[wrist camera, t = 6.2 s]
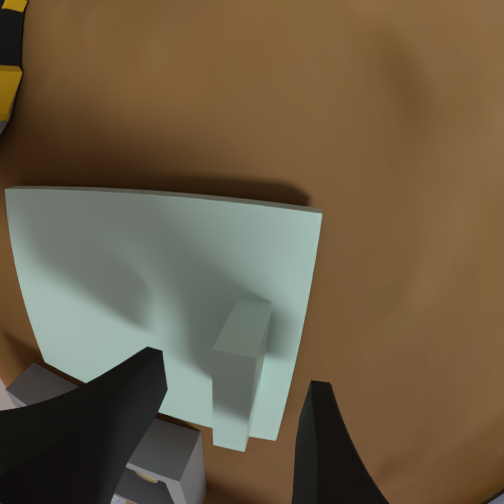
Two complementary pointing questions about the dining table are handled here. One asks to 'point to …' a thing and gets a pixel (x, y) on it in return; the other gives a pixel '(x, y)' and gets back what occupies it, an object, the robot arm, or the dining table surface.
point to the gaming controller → (10, 55)
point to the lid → (171, 293)
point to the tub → (145, 455)
